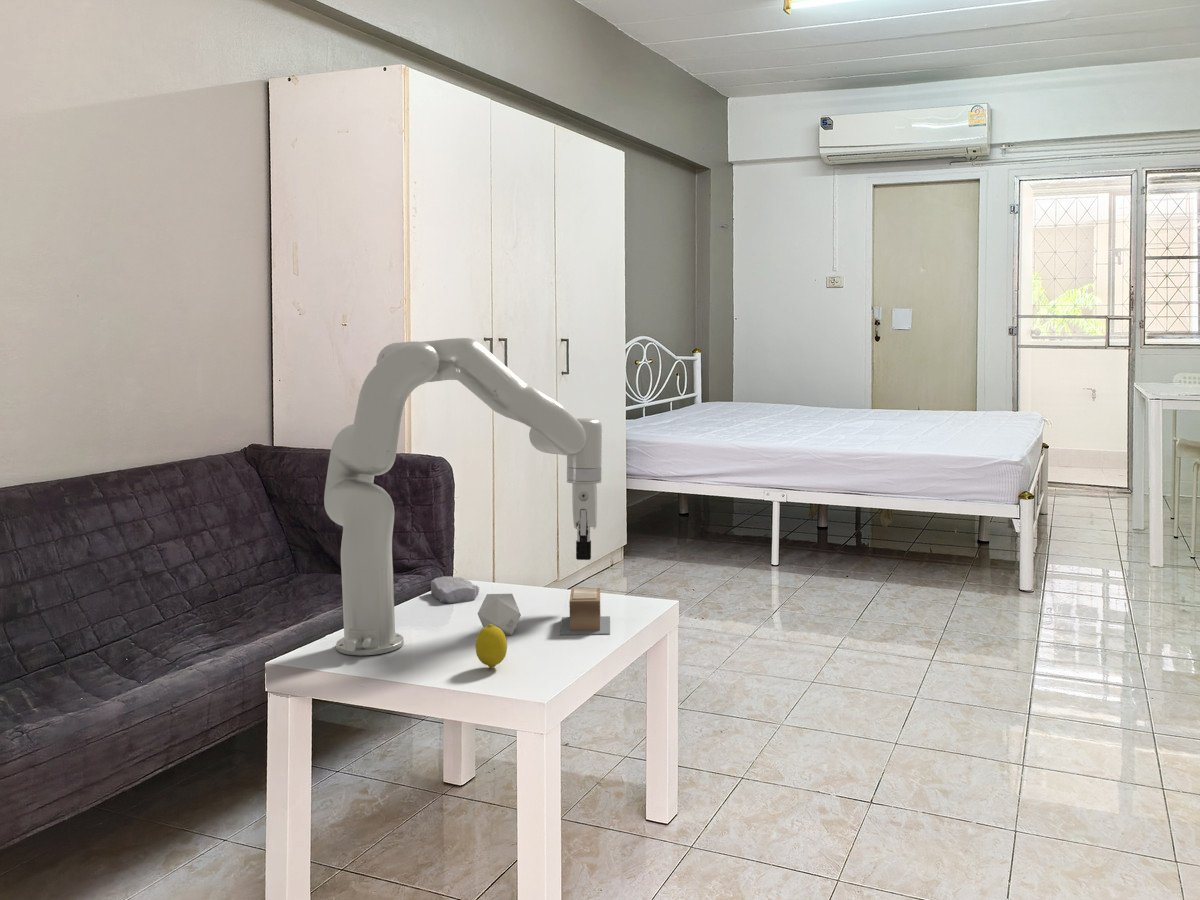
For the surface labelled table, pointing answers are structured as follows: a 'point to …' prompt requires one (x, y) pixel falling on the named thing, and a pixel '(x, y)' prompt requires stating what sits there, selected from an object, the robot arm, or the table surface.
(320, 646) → the table surface
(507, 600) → the die
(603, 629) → the pad
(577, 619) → the walnut block
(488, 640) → the lemon
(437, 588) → the stone block
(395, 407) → the robot arm
